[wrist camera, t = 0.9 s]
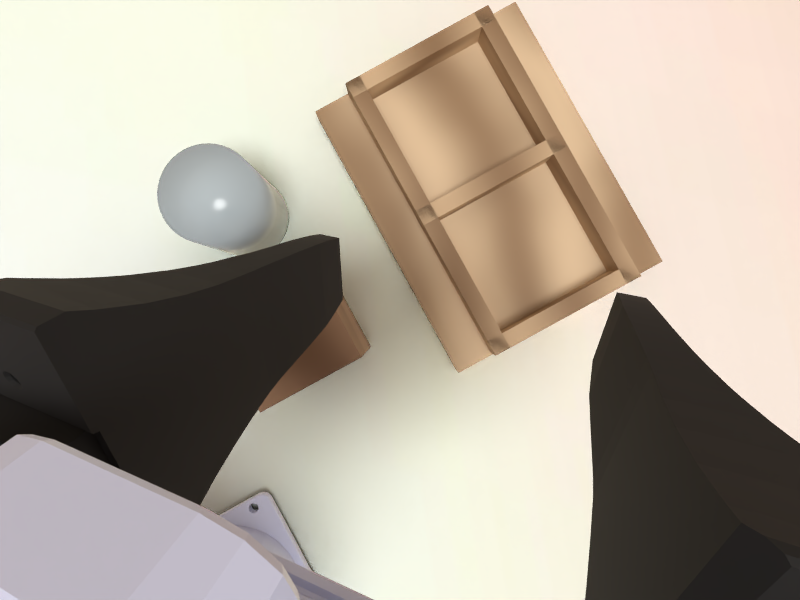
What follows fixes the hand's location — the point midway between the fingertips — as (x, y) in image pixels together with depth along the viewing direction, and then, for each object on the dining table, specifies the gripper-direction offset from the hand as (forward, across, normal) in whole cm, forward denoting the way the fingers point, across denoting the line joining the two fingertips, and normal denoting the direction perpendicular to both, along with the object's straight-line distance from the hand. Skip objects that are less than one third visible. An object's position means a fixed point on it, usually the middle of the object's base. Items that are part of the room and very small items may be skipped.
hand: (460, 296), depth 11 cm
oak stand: (+14, +2, +2) cm, 14 cm away
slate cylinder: (+8, +14, +3) cm, 17 cm away
